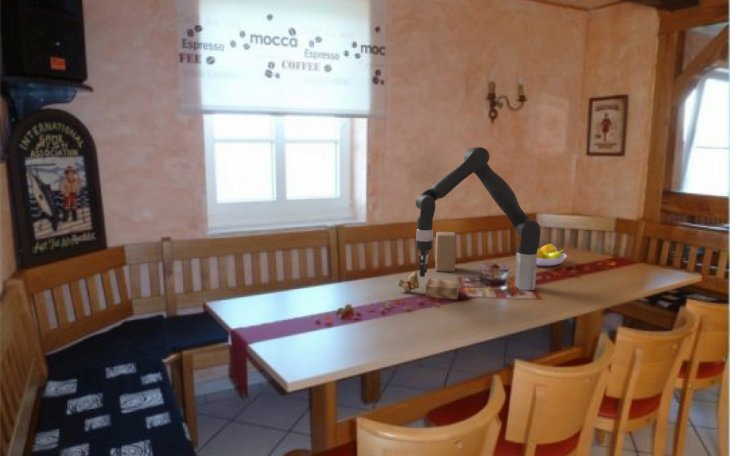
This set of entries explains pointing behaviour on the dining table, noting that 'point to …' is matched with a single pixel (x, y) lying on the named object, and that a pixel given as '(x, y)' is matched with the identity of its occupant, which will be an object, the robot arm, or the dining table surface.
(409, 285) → the chocolate bunny
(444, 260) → the wooden block
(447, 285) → the oak step
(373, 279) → the dining table surface
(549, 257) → the fruit bowl
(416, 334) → the dining table surface
